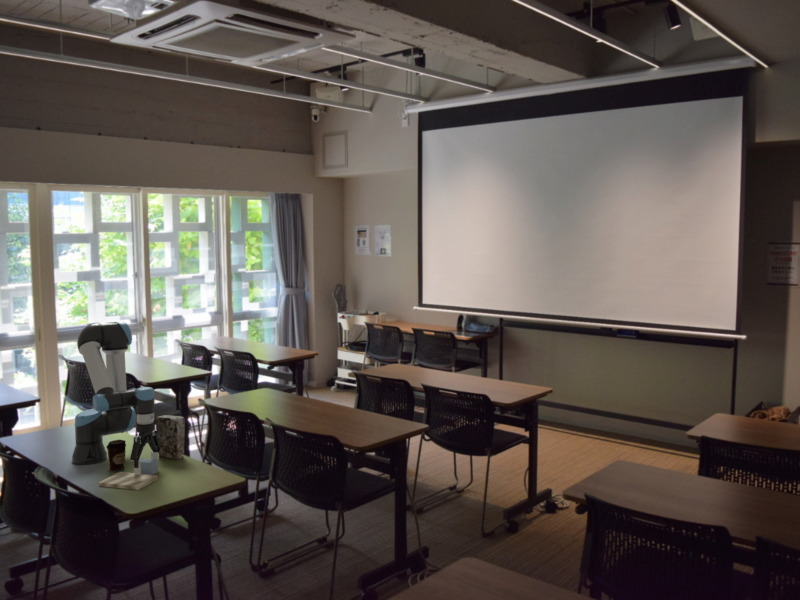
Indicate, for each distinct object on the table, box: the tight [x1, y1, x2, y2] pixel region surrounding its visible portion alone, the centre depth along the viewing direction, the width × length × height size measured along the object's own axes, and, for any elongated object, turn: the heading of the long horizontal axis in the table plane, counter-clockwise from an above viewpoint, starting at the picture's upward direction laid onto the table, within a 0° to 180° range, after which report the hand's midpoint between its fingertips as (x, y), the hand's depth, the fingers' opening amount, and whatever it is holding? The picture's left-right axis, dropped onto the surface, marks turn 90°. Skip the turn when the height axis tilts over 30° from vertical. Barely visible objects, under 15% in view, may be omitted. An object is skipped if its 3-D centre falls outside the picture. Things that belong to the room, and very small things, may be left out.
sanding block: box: [139, 457, 159, 475], centre depth 300 cm, size 8×5×6 cm, turn 76°
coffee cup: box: [105, 439, 127, 472], centre depth 304 cm, size 9×8×13 cm
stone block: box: [155, 414, 186, 460], centre depth 322 cm, size 13×7×20 cm, turn 74°
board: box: [98, 471, 159, 491], centre depth 288 cm, size 19×14×2 cm
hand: (146, 470), depth 299 cm, fingers open, 12 cm apart
